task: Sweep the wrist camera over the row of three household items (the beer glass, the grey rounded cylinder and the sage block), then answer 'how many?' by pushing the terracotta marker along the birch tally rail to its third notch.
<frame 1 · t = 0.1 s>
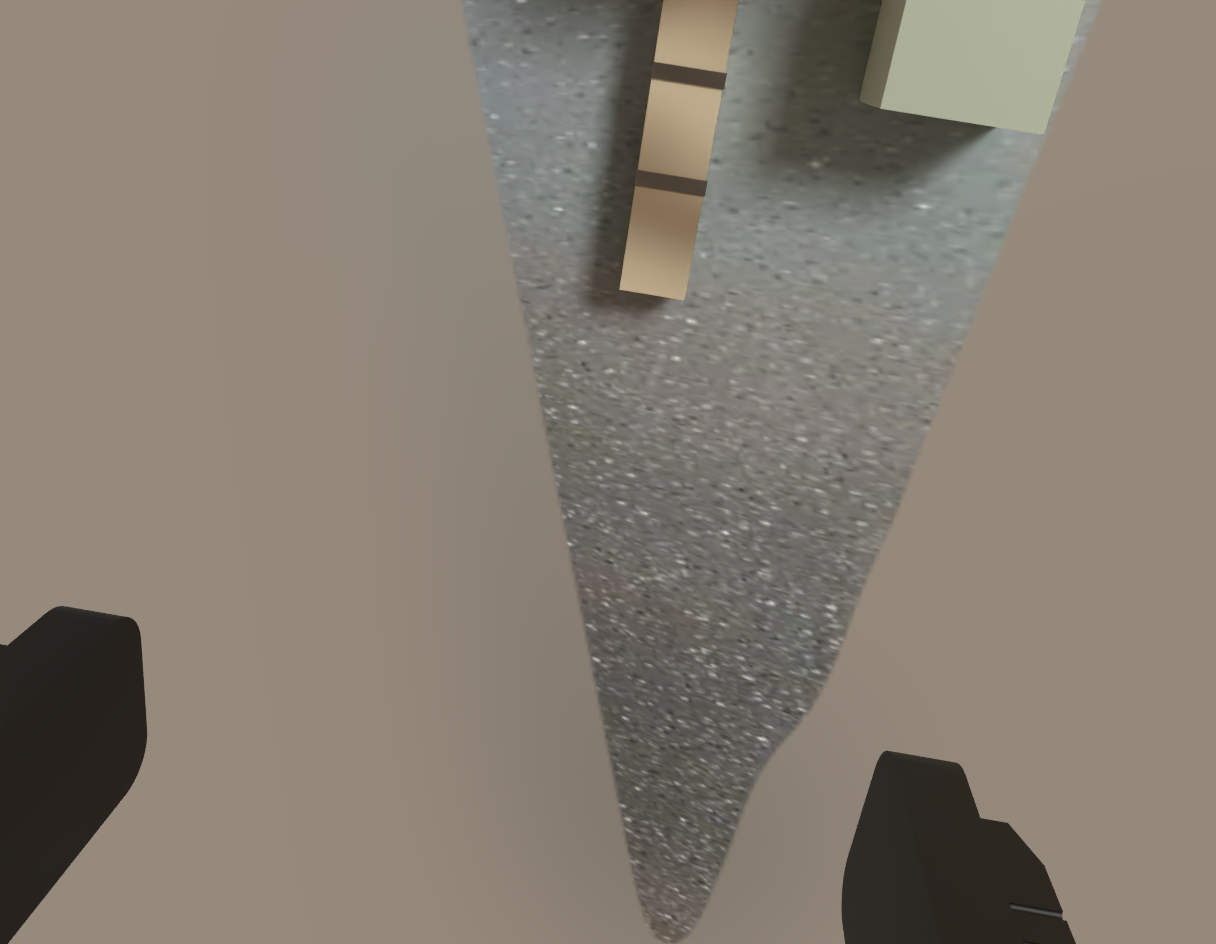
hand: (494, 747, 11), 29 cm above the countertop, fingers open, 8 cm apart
sage block: (949, 35, 34), on the countertop
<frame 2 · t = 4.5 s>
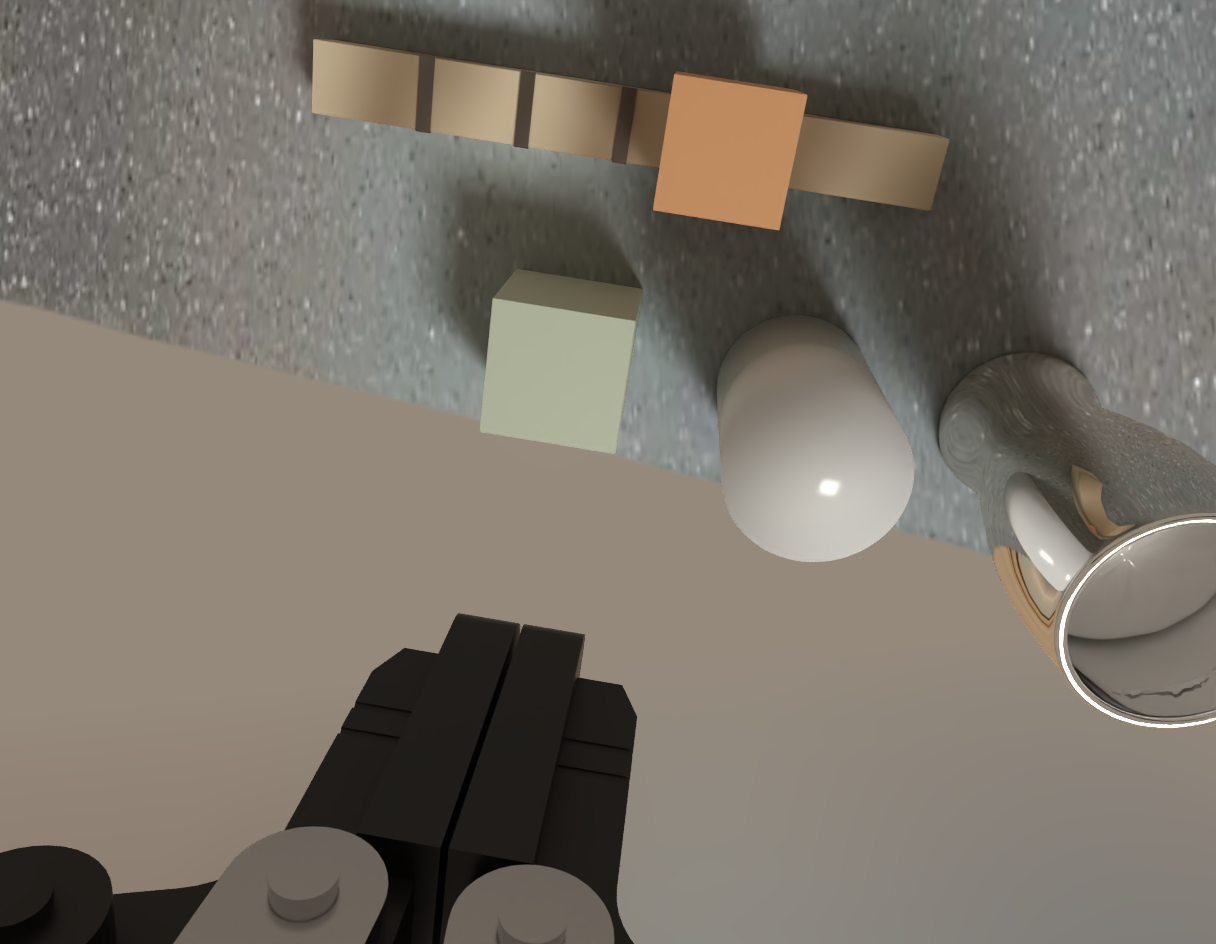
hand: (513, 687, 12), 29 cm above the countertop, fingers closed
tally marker: (726, 148, 32), point 4 cm above the countertop, slide at 0.0 cm
grey rounded cylinder: (791, 388, 40), on the countertop
tally rail: (628, 121, 36), on the countertop
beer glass: (1014, 423, 40), on the countertop
sage block: (572, 339, 40), on the countertop
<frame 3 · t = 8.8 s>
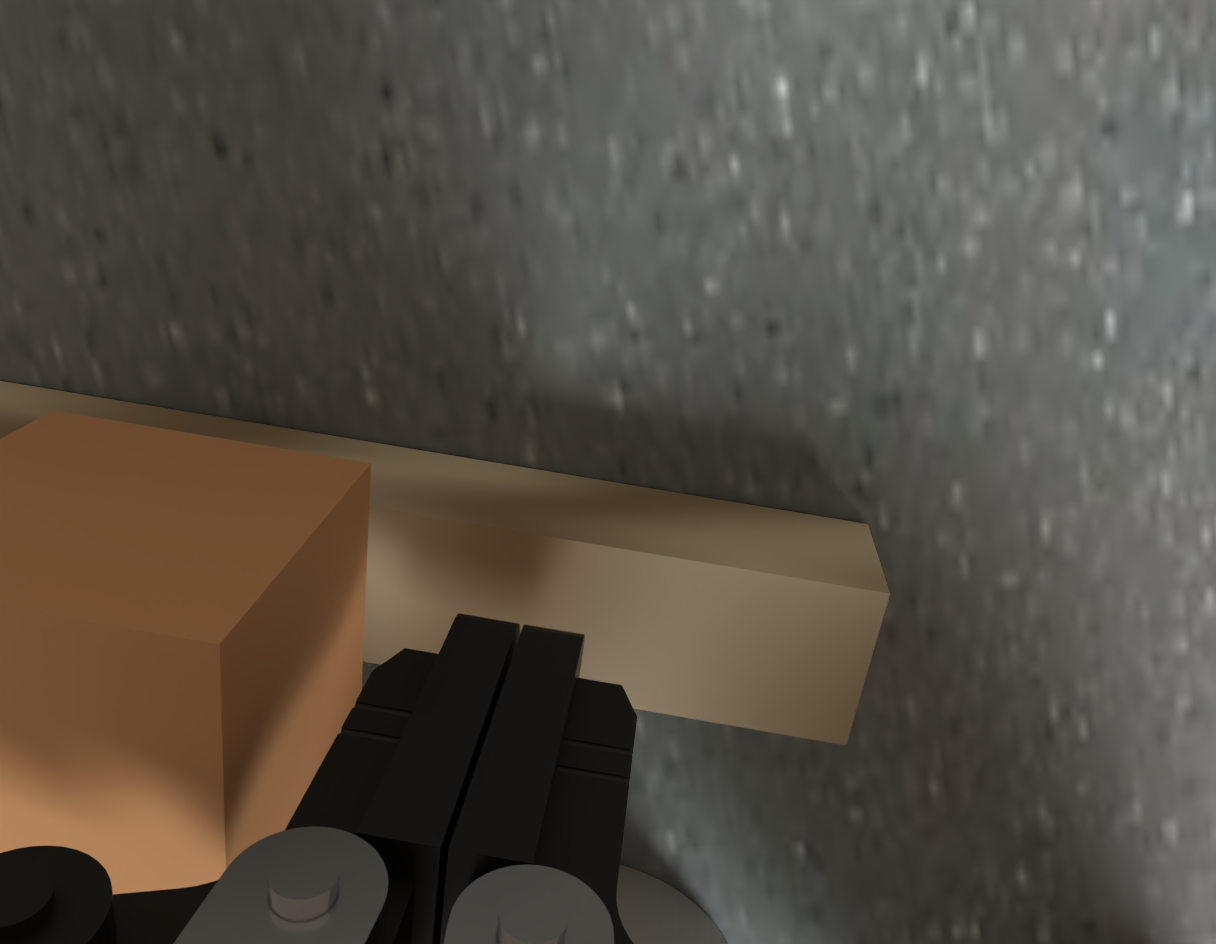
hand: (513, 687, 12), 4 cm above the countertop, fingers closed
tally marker: (132, 665, 11), point 4 cm above the countertop, slide at 1.1 cm, touching gripper
tally rail: (134, 475, 15), on the countertop
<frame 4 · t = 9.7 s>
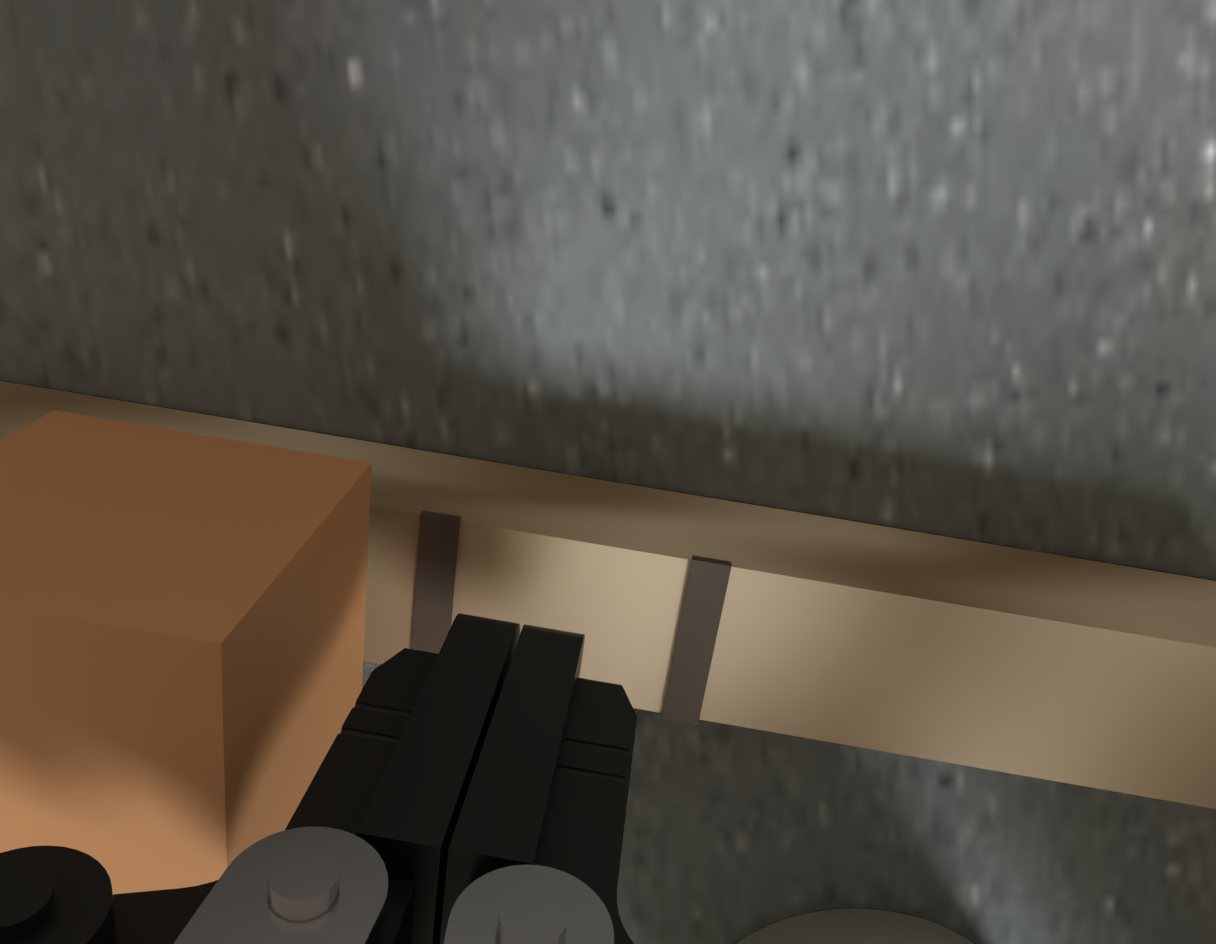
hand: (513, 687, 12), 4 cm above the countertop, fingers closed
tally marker: (133, 665, 11), point 4 cm above the countertop, slide at 6.3 cm, touching gripper
tally rail: (469, 531, 15), on the countertop
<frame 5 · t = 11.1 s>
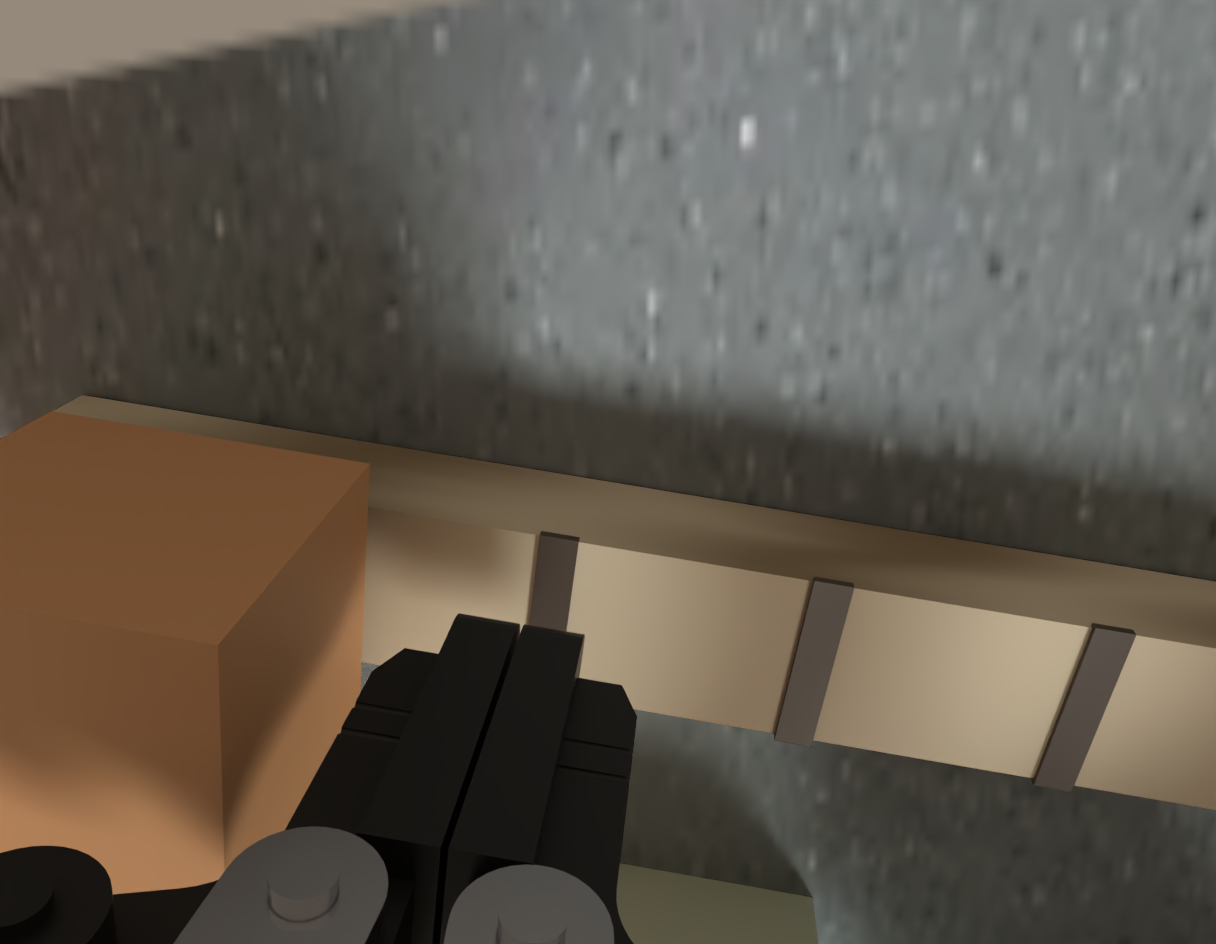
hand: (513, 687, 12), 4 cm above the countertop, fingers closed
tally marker: (130, 666, 11), point 4 cm above the countertop, slide at 11.4 cm, touching gripper
tally rail: (800, 587, 15), on the countertop
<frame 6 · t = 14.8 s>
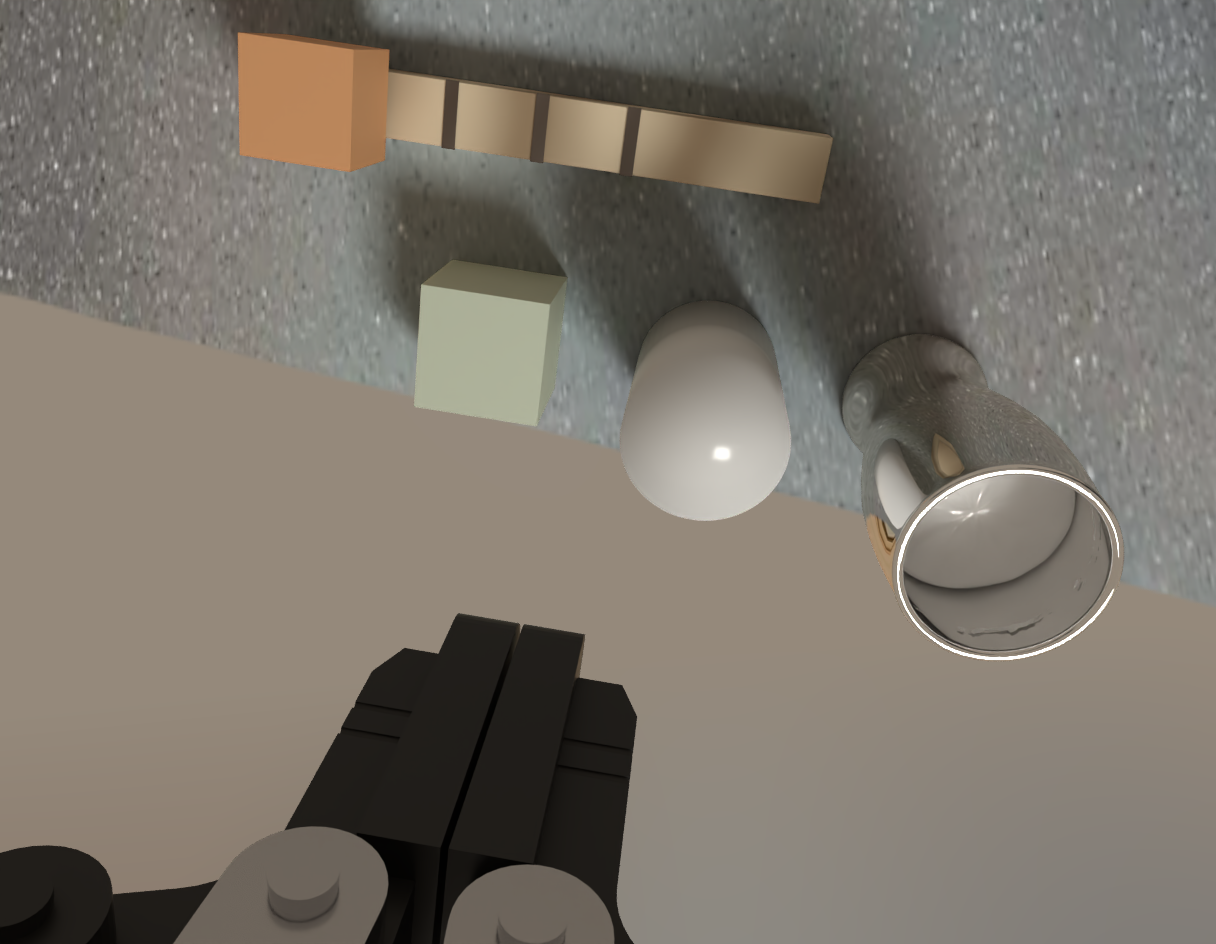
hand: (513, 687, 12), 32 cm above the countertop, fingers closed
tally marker: (316, 100, 36), point 4 cm above the countertop, slide at 11.4 cm
grey rounded cylinder: (706, 368, 43), on the countertop
tally rail: (548, 124, 40), on the countertop
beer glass: (912, 400, 43), on the countertop
sage block: (505, 324, 43), on the countertop
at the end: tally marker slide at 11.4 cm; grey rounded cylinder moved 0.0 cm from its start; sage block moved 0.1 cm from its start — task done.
